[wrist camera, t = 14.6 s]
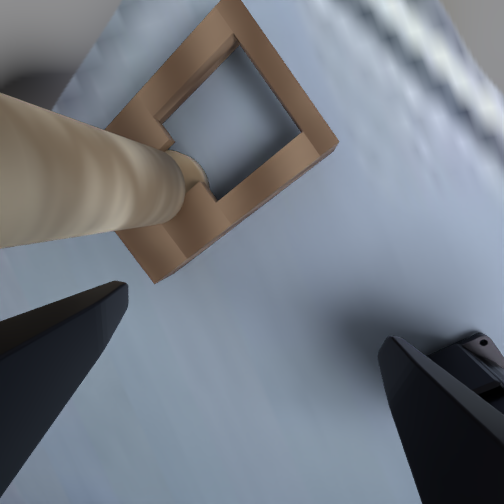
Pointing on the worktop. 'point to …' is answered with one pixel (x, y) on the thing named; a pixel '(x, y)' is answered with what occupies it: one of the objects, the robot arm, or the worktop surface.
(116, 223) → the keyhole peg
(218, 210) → the brown rectangular frame
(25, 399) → the robot arm
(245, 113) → the worktop surface
